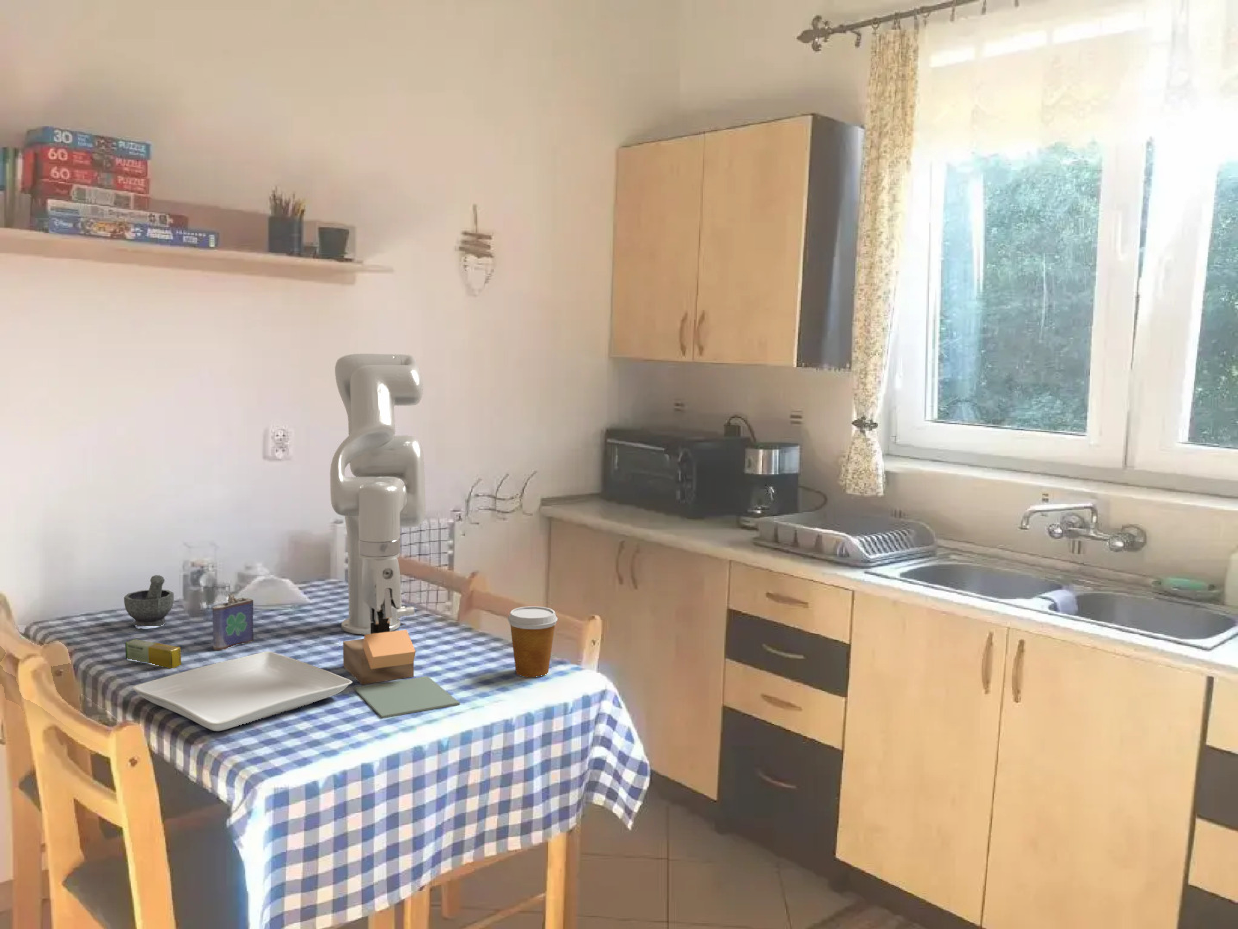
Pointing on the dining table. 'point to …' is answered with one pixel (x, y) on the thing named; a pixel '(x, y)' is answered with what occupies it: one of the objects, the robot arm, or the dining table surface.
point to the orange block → (388, 649)
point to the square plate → (242, 689)
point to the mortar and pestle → (150, 604)
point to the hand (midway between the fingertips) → (380, 643)
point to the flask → (232, 622)
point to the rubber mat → (405, 696)
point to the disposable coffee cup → (532, 639)
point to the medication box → (153, 653)
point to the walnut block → (361, 669)
